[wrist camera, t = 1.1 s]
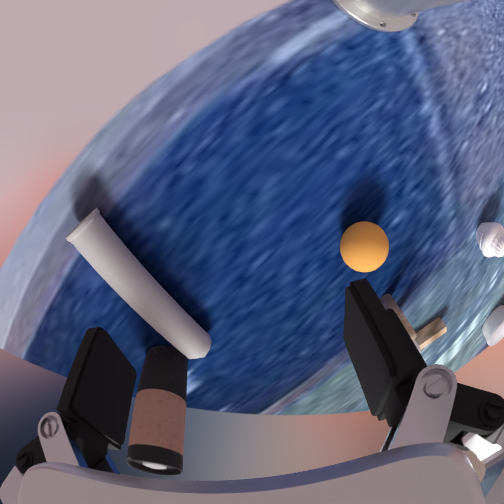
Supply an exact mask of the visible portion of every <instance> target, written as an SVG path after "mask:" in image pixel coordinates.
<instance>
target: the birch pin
mask: <svg viewBox="0 0 504 504" xmlns="http://www.w3.org/2000/svg"><path fill="white" fill-rule="evenodd" d="M380 301H381V303H382V304H383V306H384V308H385V309H388V308H391V309H393V310H394V311H395V312H396V314H397V316H398V317H399V319H400V320H401V322H402V324H403V325H404V327H405V329H406V330H407V332H408V334H409V335H410V337H411V339H412V340H413V341H414V340H415V338H416V337H417V334H416V333H415V331H414V329H413V328H412V326H411V325H410V323H409V322H408V320H407V319H406V317H405V316H404V314H403V313H402V311H401V310H400V308H399V307H398V305H397V304H396V302H395V301H394V299H393V298H392V296H391V295H390V294H385V295H383V296H382V297H381V299H380Z"/></svg>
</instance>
